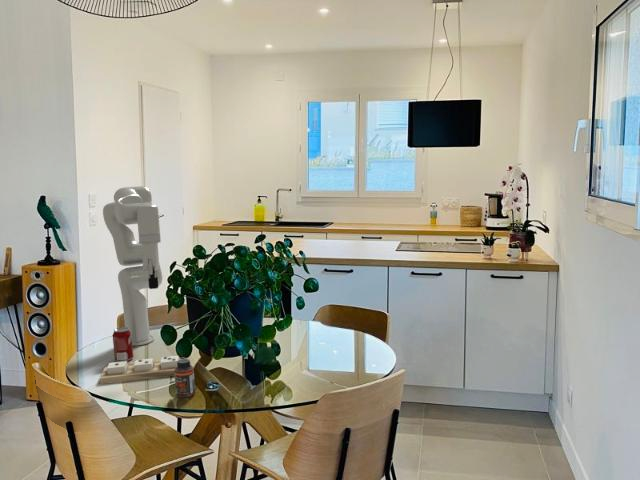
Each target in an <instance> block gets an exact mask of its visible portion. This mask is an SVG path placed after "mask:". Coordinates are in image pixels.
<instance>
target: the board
mask: <svg viewBox="0 0 640 480" xmlns="http://www.w3.org/2000/svg"><path fill="white" fill-rule="evenodd" d="M180 358H181V357H179V360H180ZM160 362H161V359H160V360H159V359H158V360H153V365H154V368H153V370H145V371H136V372H134V364H135V362H129V363H127V367H128V370H127V373H117V374H108V375H107V367H108V365H105V366H104V368H103V371H102V373H101V375H100V377H99V384H100V385H104V384H112V383H121V382H131V381H139V380H140V381H141V380H146V379H147V380H148V379H157V378H165V376H167V377H173V376H174V377H175V368H176V367H172V368H163V369H161V363H160Z"/></svg>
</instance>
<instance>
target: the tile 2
mask: <svg viewBox="0 0 640 480" xmlns="http://www.w3.org/2000/svg"><path fill="white" fill-rule="evenodd" d="M153 361H154V358H153V357H151V358H143V359H141V358H140V359H136V360H135V361H134V363H135V364H134V372H136V371H145V370H153V368H154V365H153Z"/></svg>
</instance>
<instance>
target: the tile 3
mask: <svg viewBox="0 0 640 480" xmlns="http://www.w3.org/2000/svg"><path fill="white" fill-rule="evenodd" d="M179 358H180V356H179V355H173V356H172V355H171V356H162V357H161V358H160V360H161V362H160V363H161V369H163V368H172V367H178V366H177V361H178V360H179Z"/></svg>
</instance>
